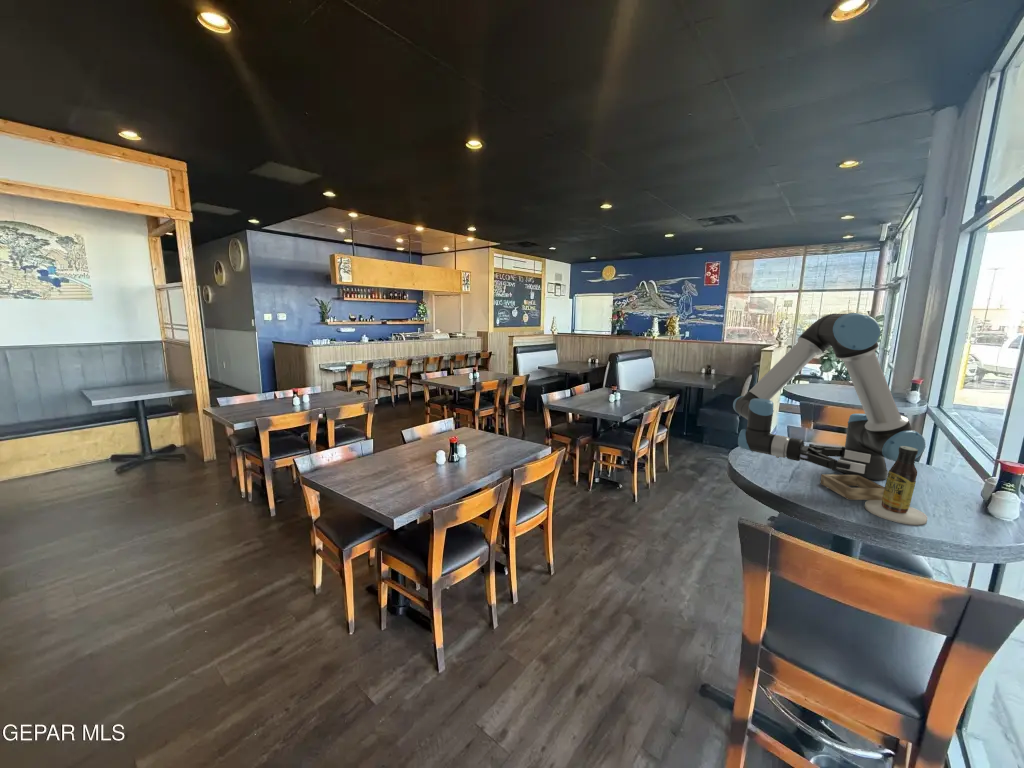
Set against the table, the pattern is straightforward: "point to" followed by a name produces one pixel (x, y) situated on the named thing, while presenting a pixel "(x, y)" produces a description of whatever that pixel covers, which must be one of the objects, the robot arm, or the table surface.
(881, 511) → the saucer
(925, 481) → the table surface
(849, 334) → the robot arm
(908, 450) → the sauce bottle
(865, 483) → the tray
